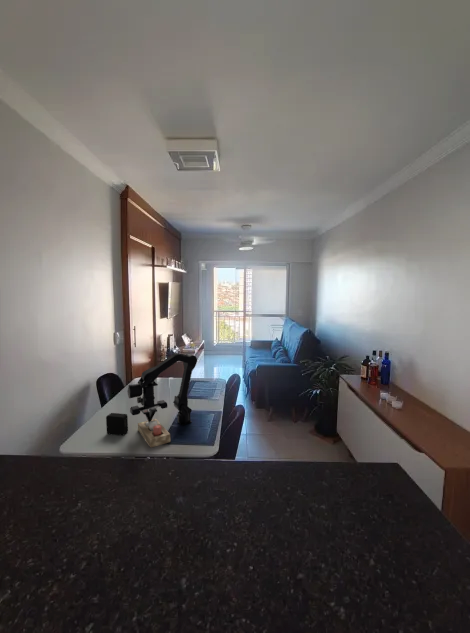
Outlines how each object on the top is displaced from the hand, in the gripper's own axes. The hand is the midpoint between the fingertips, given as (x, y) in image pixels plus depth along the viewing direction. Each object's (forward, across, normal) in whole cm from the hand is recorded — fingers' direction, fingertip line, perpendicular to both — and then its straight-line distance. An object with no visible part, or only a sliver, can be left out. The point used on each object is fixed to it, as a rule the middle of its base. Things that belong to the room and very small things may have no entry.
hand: (149, 422), depth 160 cm
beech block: (+5, 0, +6) cm, 8 cm away
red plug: (+1, 0, +13) cm, 13 cm away
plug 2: (+1, 0, +6) cm, 7 cm away
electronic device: (+5, +15, -8) cm, 17 cm away
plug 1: (+4, 0, 0) cm, 4 cm away
